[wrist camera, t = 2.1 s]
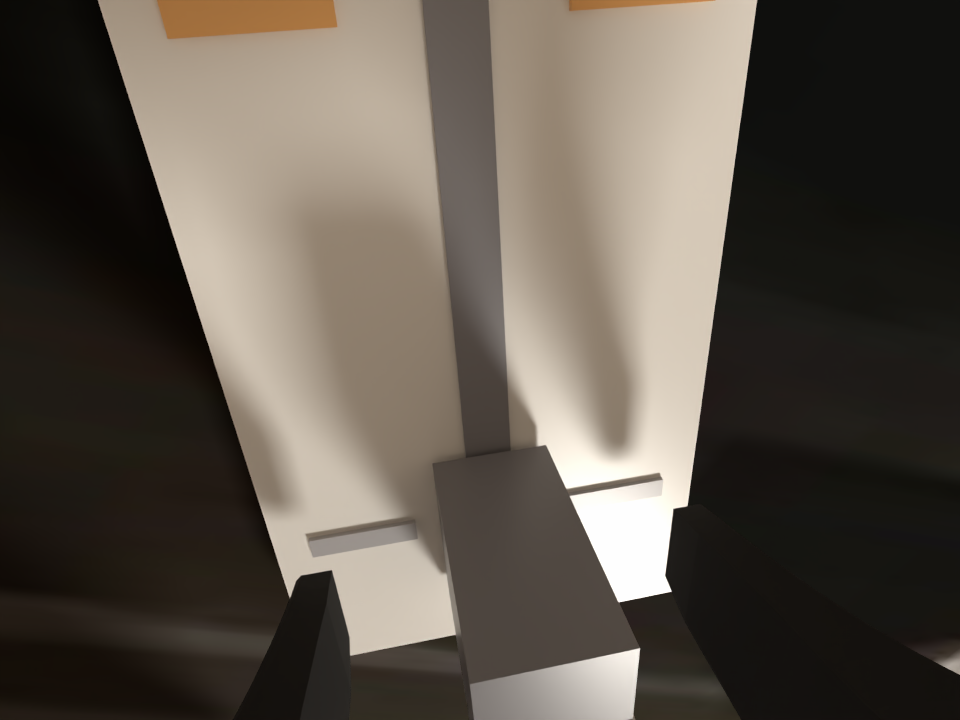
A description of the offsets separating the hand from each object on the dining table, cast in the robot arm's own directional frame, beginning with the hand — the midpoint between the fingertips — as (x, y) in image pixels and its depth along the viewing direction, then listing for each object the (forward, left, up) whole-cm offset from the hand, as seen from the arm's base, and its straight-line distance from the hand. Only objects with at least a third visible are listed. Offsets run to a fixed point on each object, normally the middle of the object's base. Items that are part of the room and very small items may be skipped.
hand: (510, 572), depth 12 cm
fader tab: (0, 0, -2) cm, 2 cm away
